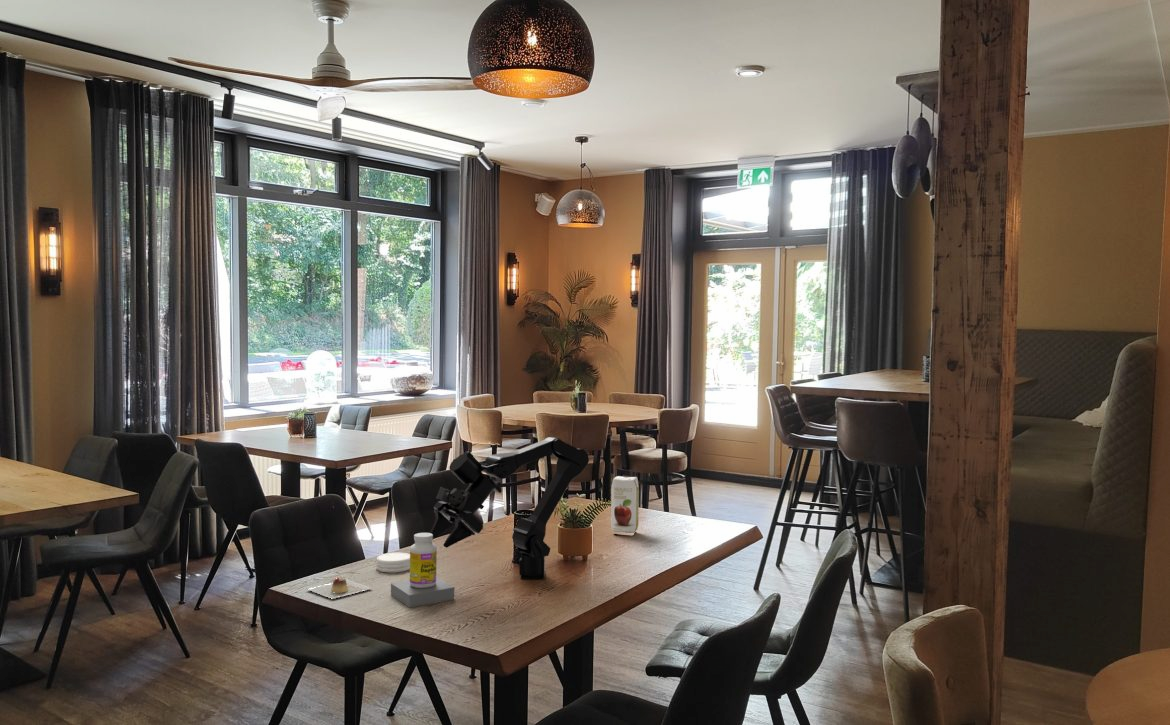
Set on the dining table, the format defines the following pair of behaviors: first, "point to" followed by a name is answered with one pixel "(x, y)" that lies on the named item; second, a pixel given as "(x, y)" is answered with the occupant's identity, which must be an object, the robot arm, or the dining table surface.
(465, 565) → the dining table surface
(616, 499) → the juice carton
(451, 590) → the block
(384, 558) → the coaster
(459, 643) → the dining table surface
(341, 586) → the dessert
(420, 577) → the supplement bottle
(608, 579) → the dining table surface
